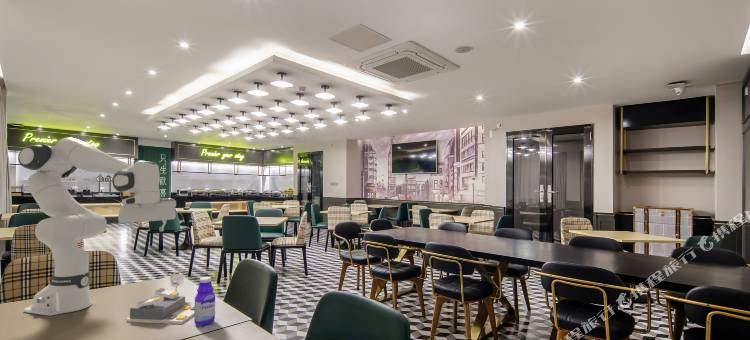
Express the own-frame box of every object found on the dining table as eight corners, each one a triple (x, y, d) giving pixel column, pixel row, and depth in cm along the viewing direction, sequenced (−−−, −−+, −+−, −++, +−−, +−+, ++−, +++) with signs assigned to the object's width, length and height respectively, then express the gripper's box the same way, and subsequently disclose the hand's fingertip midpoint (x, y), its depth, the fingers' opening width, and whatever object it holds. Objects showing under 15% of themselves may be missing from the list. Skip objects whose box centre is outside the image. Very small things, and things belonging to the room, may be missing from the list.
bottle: (199, 328, 134) (201, 281, 134) (191, 324, 137) (192, 278, 137) (217, 321, 140) (218, 276, 140) (208, 318, 143) (210, 274, 143)
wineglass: (176, 302, 160) (177, 275, 160) (165, 301, 161) (166, 274, 162) (186, 298, 166) (186, 271, 166) (175, 296, 167) (176, 270, 167)
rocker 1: (137, 307, 139) (136, 303, 139) (144, 303, 143) (144, 299, 143) (157, 303, 139) (156, 299, 139) (163, 299, 143) (163, 296, 143)
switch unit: (126, 321, 138) (126, 306, 138) (153, 306, 154) (154, 293, 154) (181, 323, 137) (182, 308, 137) (203, 308, 153) (204, 294, 153)
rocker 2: (154, 294, 149) (155, 290, 149) (160, 291, 153) (161, 287, 153) (172, 299, 149) (173, 295, 149) (178, 295, 153) (179, 292, 153)
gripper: (175, 197, 158) (176, 229, 157) (118, 200, 147) (118, 234, 146) (176, 197, 153) (177, 230, 152) (117, 200, 142) (118, 235, 141)
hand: (148, 232), depth 149 cm, fingers open, 8 cm apart
